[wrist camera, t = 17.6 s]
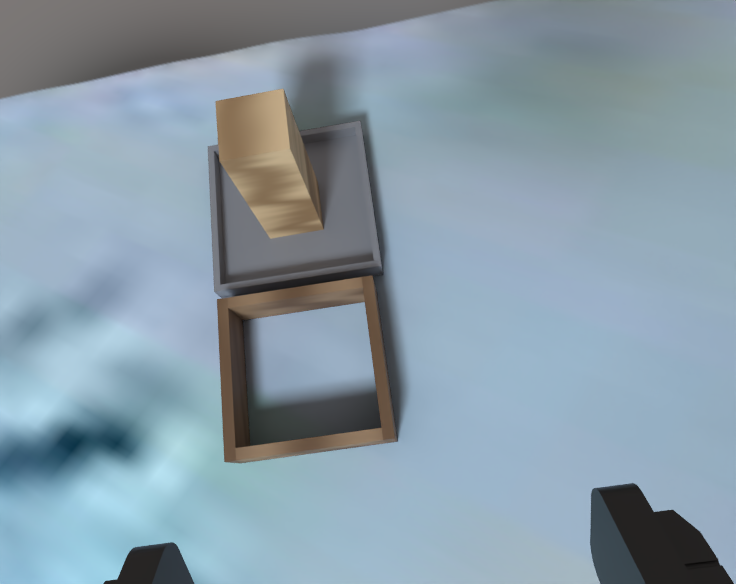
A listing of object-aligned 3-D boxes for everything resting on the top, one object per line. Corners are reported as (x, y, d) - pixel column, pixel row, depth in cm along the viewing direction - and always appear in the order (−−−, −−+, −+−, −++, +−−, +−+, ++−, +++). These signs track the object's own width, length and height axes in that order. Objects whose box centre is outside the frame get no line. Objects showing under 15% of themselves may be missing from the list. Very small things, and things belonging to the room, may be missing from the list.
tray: (362, 134, 50) (360, 120, 48) (383, 274, 45) (381, 265, 43) (216, 159, 50) (207, 146, 48) (223, 299, 46) (214, 291, 44)
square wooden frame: (376, 290, 45) (372, 275, 42) (397, 441, 41) (395, 438, 38) (232, 312, 46) (216, 299, 42) (240, 463, 42) (224, 461, 39)
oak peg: (317, 181, 48) (283, 88, 36) (323, 229, 46) (289, 148, 35) (265, 190, 48) (215, 101, 36) (270, 238, 46) (219, 161, 35)
